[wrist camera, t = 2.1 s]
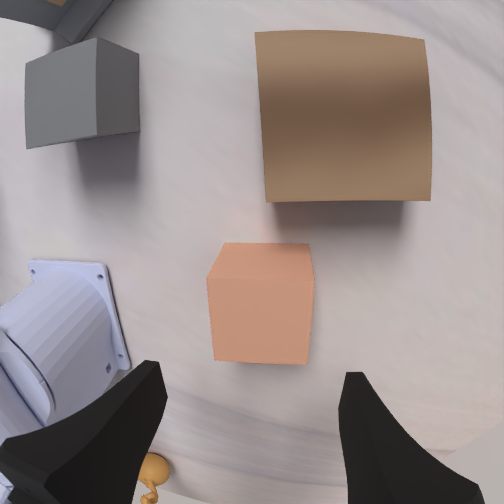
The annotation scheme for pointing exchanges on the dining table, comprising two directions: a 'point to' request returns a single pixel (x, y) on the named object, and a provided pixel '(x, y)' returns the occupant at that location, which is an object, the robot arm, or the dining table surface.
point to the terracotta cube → (261, 303)
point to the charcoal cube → (81, 93)
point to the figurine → (153, 476)
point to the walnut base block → (344, 116)
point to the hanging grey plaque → (56, 15)
